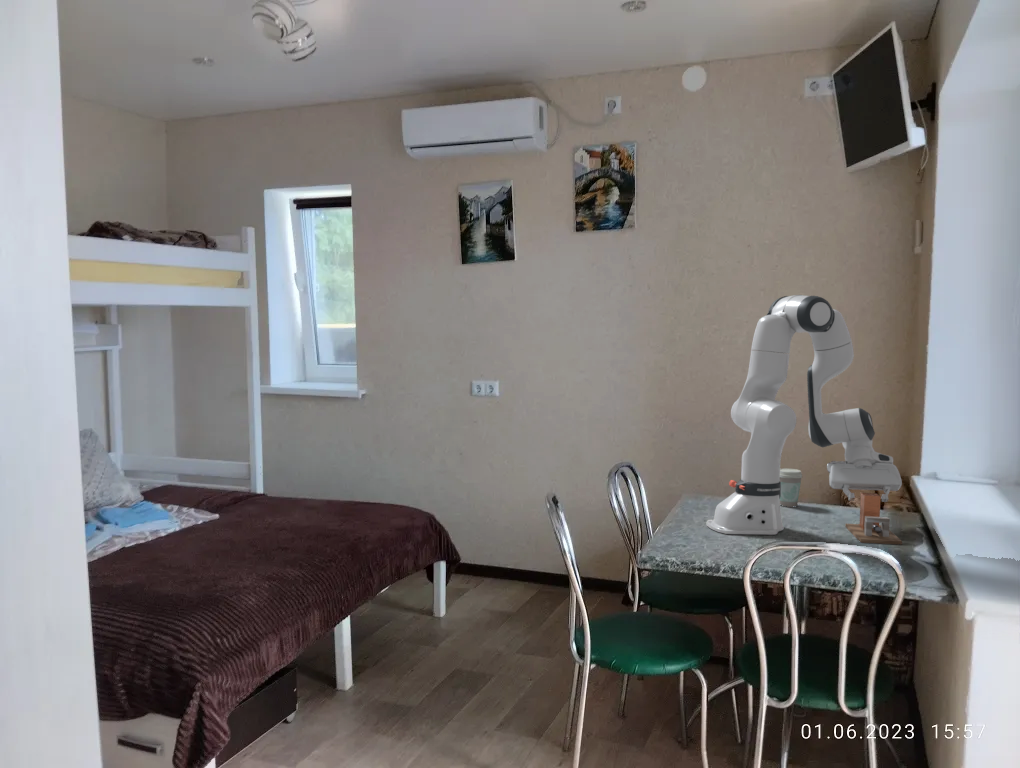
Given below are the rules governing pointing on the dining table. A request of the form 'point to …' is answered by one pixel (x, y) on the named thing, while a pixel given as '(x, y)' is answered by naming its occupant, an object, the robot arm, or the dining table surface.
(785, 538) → the dining table surface
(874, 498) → the orange brown upright block
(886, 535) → the eye board
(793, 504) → the coffee cup
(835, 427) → the robot arm
